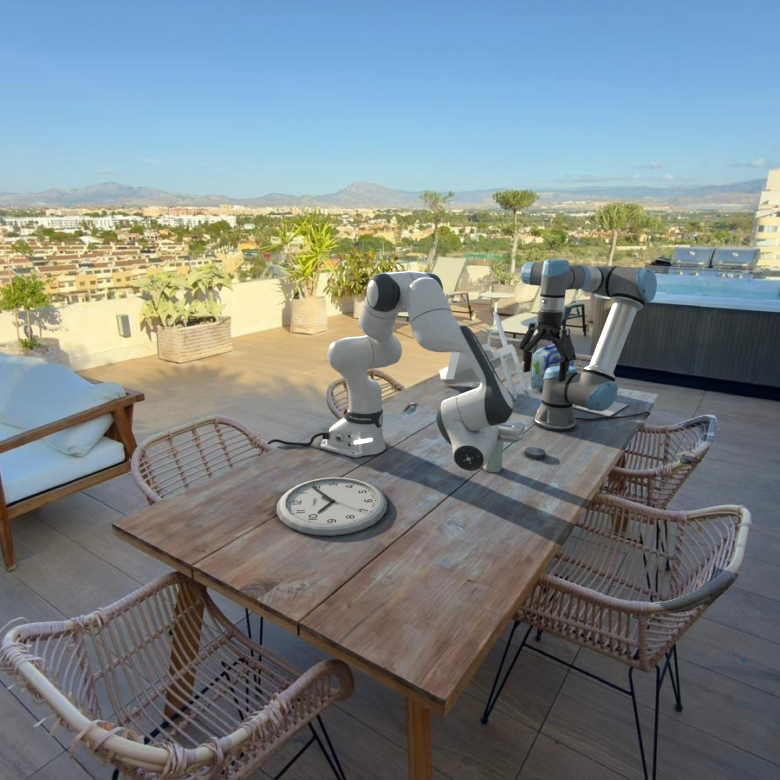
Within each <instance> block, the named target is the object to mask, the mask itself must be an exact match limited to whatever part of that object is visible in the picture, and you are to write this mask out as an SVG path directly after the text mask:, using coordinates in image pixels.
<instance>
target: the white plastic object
mask: <svg viewBox="0 0 780 780" xmlns="http://www.w3.org/2000/svg"><path fill="white" fill-rule="evenodd" d="M492 315H493V319H494V321H495V324H496V325H495V326H496V328H497V332H498V335H499V338H500V342H501V345H502V347H500V348H498V349H496V350H495V349H493V348H492V347H491V346H490V344H489V343H488V342H487V343H483V344H481V346H482V348H483V350H484V351H485V353H486V355H487V357H488V359H489V361H490V362H491V364H492V366H493V368H494V370H496V369H497V368H499V367H500V366H502V370H503V373H504V376H505V380H506V383H507V386H508V390H509V393H510V395H512V397H513V398H514V399H515V400H517V392H516V391H517V390H516V388H515V385H514V381H513V378H512V375H511V371H510V369H509V365H508V361H510V360H513V363H514V366H515V369H516V372H517V376H518V380H519V382H520V385H521V389H522V391H523V393H524V395H525V396H526V397H528V396H531V395H530V390H529V388H528V387H529V386H528V384H527V381H526V378H525V375H524V372H523V369H522V368H523V367H522V366H521V362H520V359H519V355H518V352H517V349H516V347H515V346H514V345H513V343H511V344H508V341H507V337H506V334H505V331H504V328H503V325H502V321H501V318H500V315H499V314H498V312H497V311H496V310H495V311H492ZM438 372H439V376H440V381H442V383H443V384H444V385H445V386H449V385H458V384H467V383H468V384H469V383H473V384H477V383H480V381H479V379H478V377H477V375H476V373H475V371H474V369H473V368H472V366H471V364H470V362H469V360H468V358H467V357H466V355H465V354H463V353H460V352H450V357H449V362H448V366H446V367H444V368H442V369H440V370H439V371H438Z"/></svg>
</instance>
